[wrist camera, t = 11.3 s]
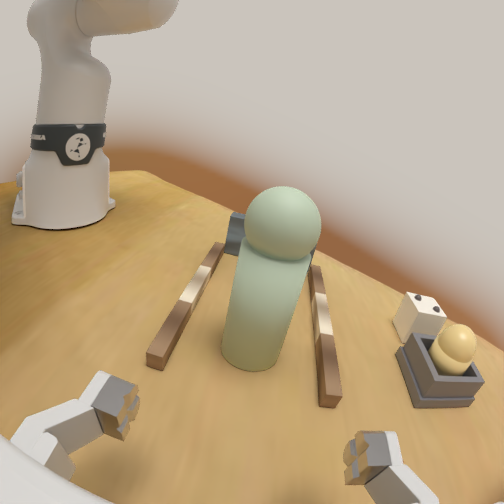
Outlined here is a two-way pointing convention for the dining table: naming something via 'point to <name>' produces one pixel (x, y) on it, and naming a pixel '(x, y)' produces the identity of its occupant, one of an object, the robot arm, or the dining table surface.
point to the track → (185, 305)
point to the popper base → (434, 377)
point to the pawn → (269, 276)
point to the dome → (453, 350)
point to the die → (418, 316)
